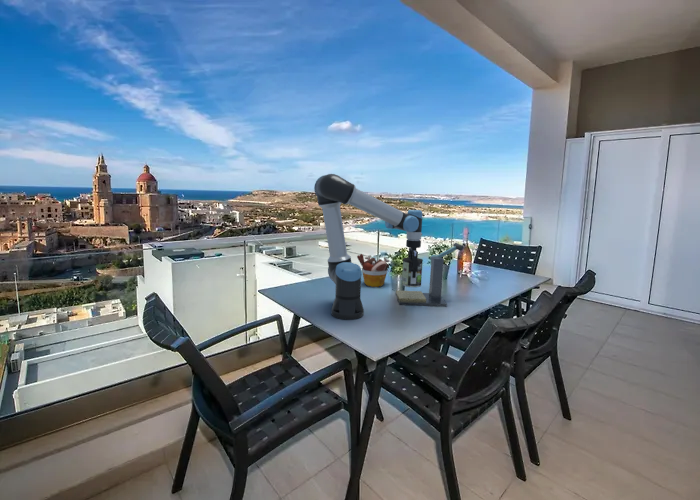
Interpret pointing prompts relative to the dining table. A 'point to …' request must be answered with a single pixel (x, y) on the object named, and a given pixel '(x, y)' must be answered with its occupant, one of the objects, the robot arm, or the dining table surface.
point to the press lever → (450, 250)
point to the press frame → (434, 291)
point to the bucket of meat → (373, 270)
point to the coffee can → (407, 274)
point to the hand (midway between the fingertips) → (411, 280)
